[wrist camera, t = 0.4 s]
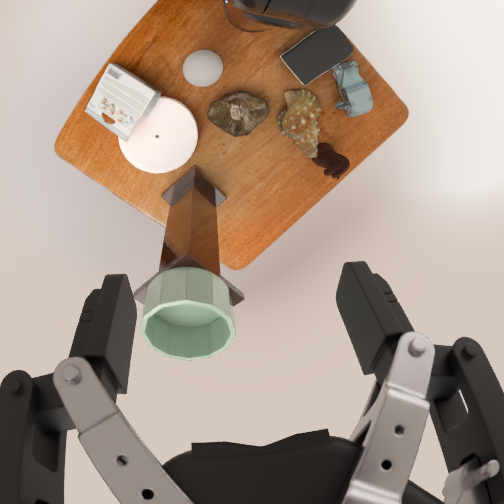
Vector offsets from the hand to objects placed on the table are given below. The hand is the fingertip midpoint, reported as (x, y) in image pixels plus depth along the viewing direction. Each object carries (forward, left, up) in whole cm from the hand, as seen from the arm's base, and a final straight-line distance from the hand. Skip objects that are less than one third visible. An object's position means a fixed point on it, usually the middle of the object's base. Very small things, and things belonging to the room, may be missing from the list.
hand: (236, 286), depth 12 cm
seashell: (+14, +8, -48) cm, 51 cm away
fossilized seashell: (+5, 0, -48) cm, 49 cm away
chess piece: (+22, +8, -48) cm, 54 cm away
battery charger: (+5, +12, -47) cm, 48 cm away
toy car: (+14, +18, -48) cm, 53 cm away
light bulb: (-5, +1, -48) cm, 49 cm away
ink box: (-11, -7, -45) cm, 47 cm away
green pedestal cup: (+13, -17, -48) cm, 53 cm away
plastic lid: (-1, -12, -48) cm, 50 cm away
